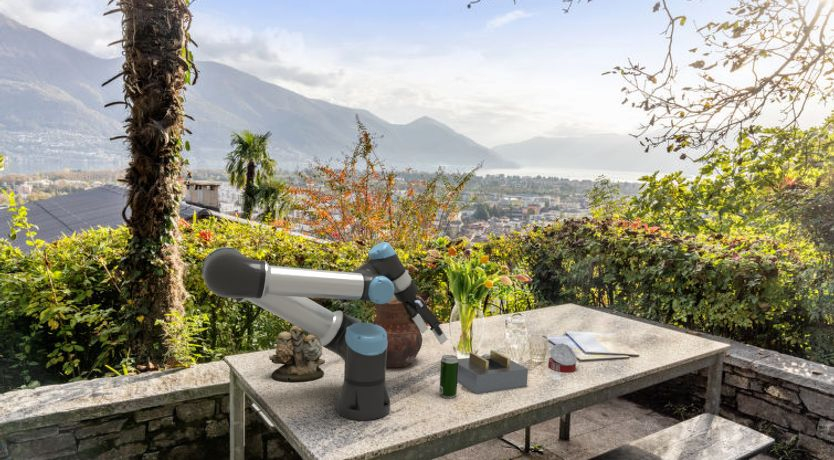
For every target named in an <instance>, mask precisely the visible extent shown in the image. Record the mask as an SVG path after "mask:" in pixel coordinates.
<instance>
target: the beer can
mask: <svg viewBox="0 0 834 460" xmlns="http://www.w3.org/2000/svg"><path fill="white" fill-rule="evenodd" d="M458 359H459V358H458V356H456V355H453V354H445V355H442V356H441V359H440V372H439V389H438V391H439V395H440V397H442V398H444V399H454V398H455V397H456V396H457V392H458V382H457V377H458Z"/></svg>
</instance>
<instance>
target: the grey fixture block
mask: <svg viewBox="0 0 834 460" xmlns="http://www.w3.org/2000/svg"><path fill="white" fill-rule="evenodd" d="M528 373H529V368H528V367H525V366H524V365H521V364H519V363H517V362H515V361H513V360H511V358H509V357H508V356H506V355H503V354H502V353H501V352H498V351H496V350H494V349H490V352H489V354H483V355H481V356H480V355H478V354H477V353H474V352H471V351H469V357H466V358H464V357H463V358H458V377H457V383H458V384H460V385H462V386H463V387H465V388H467V389H468V390H469V391H471V392H473V393H474V394H475V395H479V394H486V393H491V392H492V393H493V392H497V391H506V390H511V389H519V388H520V389H521V388H524V387H528V375H529V374H528Z"/></svg>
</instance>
